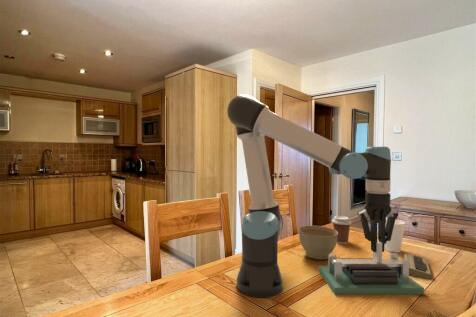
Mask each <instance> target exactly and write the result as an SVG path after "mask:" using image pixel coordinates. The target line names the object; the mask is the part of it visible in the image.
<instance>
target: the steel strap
mask: <svg viewBox="0 0 476 317" xmlns="http://www.w3.org/2000/svg"><path fill="white" fill-rule="evenodd" d="M335 261H341V262H342V267H401V260H399V258H398V259H390V258H382V263H380V262H379V263H377V262H376V261H375V260H373V259H341V258H335V259H334V258H332V259H331V262H332V263H333V265H334V266H335Z"/></svg>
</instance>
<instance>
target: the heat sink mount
mask: <svg viewBox="0 0 476 317" xmlns="http://www.w3.org/2000/svg"><path fill="white" fill-rule="evenodd" d="M332 258H334V259H336V254H332V253H330V254H329V258H328V261H327V262H328V264H327V266H328V271H329V273H335V274H334V279H335V281H342V271H343V272H344V274H345V275H346V276H347V277H348V278H349V279H350V280H351V282H352V283H353V284H354V285H398V278H399V279H401V280H402V281H409V277H410V275H409V261H407V260H404V259H401V260H400V261H401V267H342V262H341V261H335V266H334V265H333V263H332V262H331V259H332ZM340 259H373V257H372V258H370V257H367V258H365V257H361V258H360V257H359V258H358V257H357V258H356V257H354V258H353V257H348V258H347V257H345V258H344V257H340ZM389 259H398V260H399V253H398V252H397V253H396V252H390V258H389Z"/></svg>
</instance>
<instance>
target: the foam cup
mask: <svg viewBox="0 0 476 317" xmlns="http://www.w3.org/2000/svg"><path fill="white" fill-rule="evenodd" d="M387 219H388V218H386V223H387ZM386 223H385V227H386ZM405 229H406V222H405V221H402V220H401V219H396V220H395V223H394V228H393V232H392V236H391V240H390V241H386V244H385V246H384V251H386V252H389V253H397V254H398V253H400V252H401V250H402V244H403V240H404V235H405V234H404V233H405Z"/></svg>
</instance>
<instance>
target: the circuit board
mask: <svg viewBox="0 0 476 317" xmlns="http://www.w3.org/2000/svg"><path fill="white" fill-rule="evenodd" d="M318 272H319V274H320V276H321V277H322V278H323V279H324V281H325V282H326V284H327V285H328V287H329V288H330V290H331V291H332V292H333V295H425V287H423V286H422V285H421V284H419V283H418V282H416V281H415V280H414V279H412V278H411V277H410V276H409V281H402V280H401V279H399V278H398V285H354V284H353V283H352V282H351V280H350V279H349V278H348V277H347V276H346V275H345V274H344V272H343V271H342V281H335V279H334V274H335V273H329V271H328V265H318Z"/></svg>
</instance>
